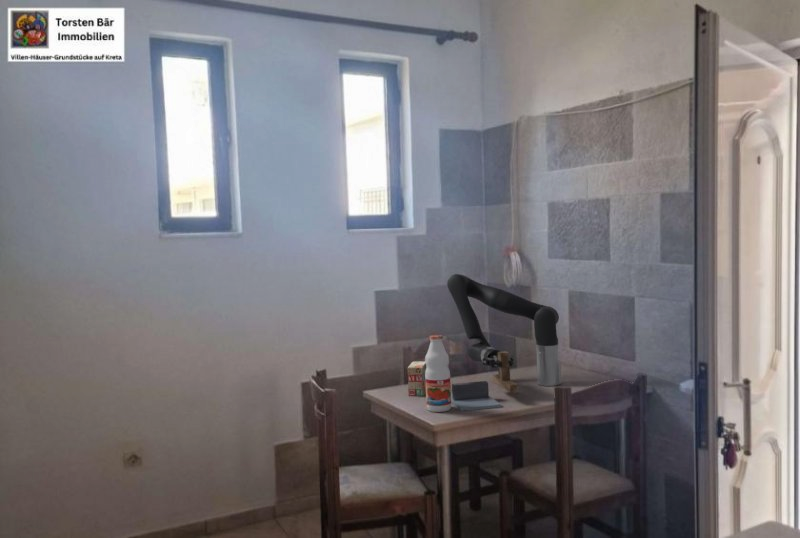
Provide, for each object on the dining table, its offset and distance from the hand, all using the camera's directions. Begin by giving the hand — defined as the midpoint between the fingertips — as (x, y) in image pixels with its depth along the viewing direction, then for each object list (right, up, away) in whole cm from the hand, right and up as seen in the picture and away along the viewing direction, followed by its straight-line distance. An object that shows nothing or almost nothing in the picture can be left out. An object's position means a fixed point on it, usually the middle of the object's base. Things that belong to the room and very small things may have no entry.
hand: (506, 364), depth 245 cm
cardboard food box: (-33, -15, +23) cm, 43 cm away
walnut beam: (0, -10, +3) cm, 10 cm away
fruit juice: (-27, -16, -10) cm, 33 cm away
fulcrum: (-14, -15, +1) cm, 20 cm away
